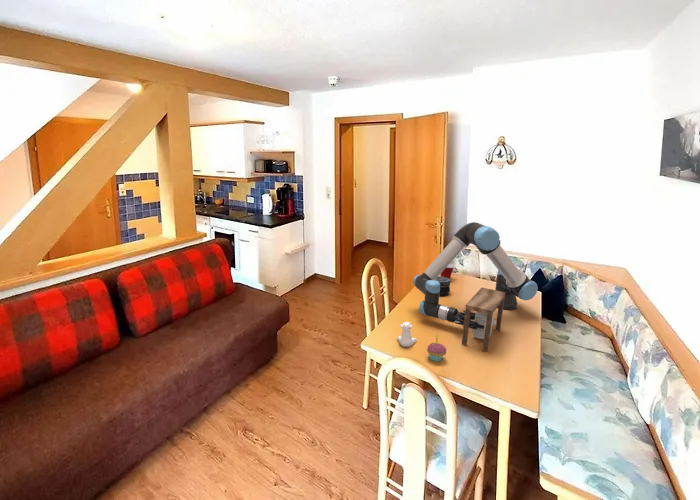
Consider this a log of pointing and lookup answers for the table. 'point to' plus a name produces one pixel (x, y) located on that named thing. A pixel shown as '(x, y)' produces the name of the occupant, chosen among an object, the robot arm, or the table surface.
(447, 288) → the container
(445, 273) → the plastic cup
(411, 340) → the seated beast figurine
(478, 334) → the supplement box
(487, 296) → the walnut stool
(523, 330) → the table surface
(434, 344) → the cupcake
